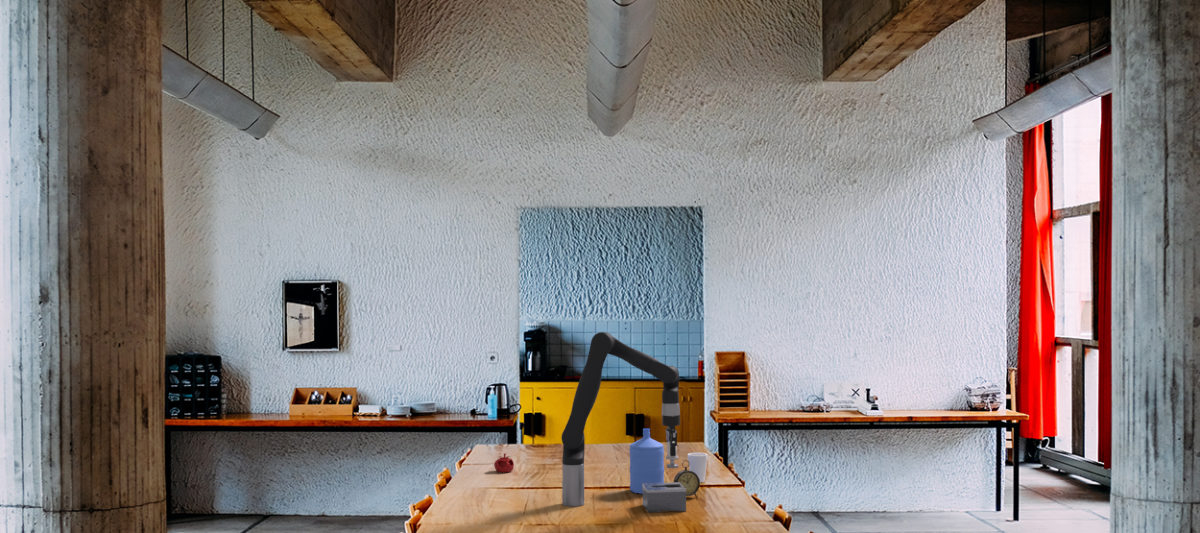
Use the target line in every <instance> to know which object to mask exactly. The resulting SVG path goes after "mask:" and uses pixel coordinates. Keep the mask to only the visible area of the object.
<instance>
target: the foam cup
mask: <svg viewBox="0 0 1200 533" xmlns="http://www.w3.org/2000/svg"><path fill="white" fill-rule="evenodd" d="M708 460H709V455H708V453H705V452H689V453H687V461H688V462H689V463H688V462H687V463H688V465H689V467H688V468H689V471H693V472H694V473H696V474H697V476H698V477H699V480H700V482H704V481H706V473H707V466H708ZM704 483H705V482H704Z"/></svg>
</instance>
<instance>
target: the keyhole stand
mask: <svg viewBox="0 0 1200 533" xmlns="http://www.w3.org/2000/svg"><path fill="white" fill-rule="evenodd" d="M642 490H643V494H642V506H643V508H644V507H645V508H644V509H645V511H646V510H647V511H646V512H647V513H663V512H662V511H667V512H668V511H677V512H687V496H686V489H685V488H684V486H683V485H682V484H681V483H680V482H674V481H673V482H672V481H671V482H664V483H642ZM667 512H666V513H667ZM668 513H669V512H668Z"/></svg>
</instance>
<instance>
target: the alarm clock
mask: <svg viewBox="0 0 1200 533" xmlns="http://www.w3.org/2000/svg"><path fill="white" fill-rule="evenodd" d="M685 462H687V463H688V466H684V463H685ZM682 467H683V468H684V469H683V470H680V471H679V472H677V473H676V474H675V476H674V478H673V482H680V483H681V484H682V485H683V486H684V488H685V489H686V497H691V496H695V497H696V498H698V495H697V492H698V490H699V489H700V484H701V483H700V480H699V477H698V476H697V474H696V473H694V472H693V471H690V469H689V470H688V468H689V462H688V459H685V460H683V462H682Z"/></svg>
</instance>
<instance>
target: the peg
mask: <svg viewBox="0 0 1200 533" xmlns="http://www.w3.org/2000/svg"><path fill="white" fill-rule="evenodd" d="M672 443H674V441H673V442H672ZM666 450H667V452H666V453H667V454H666V455H667V456H665V459H666V460H668V461H669V463H668V464H666V468H667V469H678V468H679V464H678V463H675V460H679V455H678V445H677V446H676V456H671V455H670V442H667V441H666Z"/></svg>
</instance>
